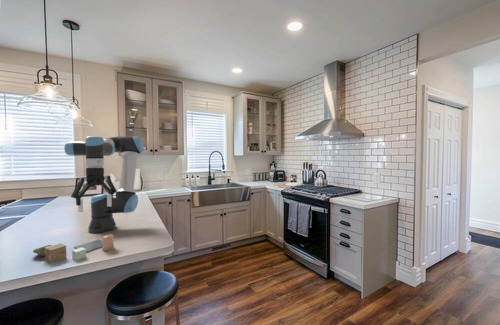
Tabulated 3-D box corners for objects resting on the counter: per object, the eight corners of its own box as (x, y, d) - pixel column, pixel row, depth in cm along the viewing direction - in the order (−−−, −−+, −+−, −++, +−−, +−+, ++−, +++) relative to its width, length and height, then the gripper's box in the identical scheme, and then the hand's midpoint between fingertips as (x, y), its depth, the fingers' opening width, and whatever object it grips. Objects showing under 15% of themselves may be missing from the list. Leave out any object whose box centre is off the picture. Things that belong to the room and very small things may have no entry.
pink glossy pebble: (100, 250, 115) (99, 236, 114) (110, 246, 119) (110, 233, 119) (105, 252, 112) (105, 238, 112) (115, 248, 117) (115, 235, 116)
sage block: (72, 258, 105) (72, 250, 105) (82, 255, 109) (81, 247, 109) (76, 260, 103) (76, 252, 103) (86, 257, 107) (85, 249, 107)
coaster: (74, 248, 117) (74, 246, 117) (98, 240, 127) (98, 239, 127) (85, 253, 111) (85, 251, 111) (110, 244, 122) (110, 243, 122)
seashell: (54, 244, 117) (60, 234, 113) (60, 256, 115) (66, 247, 111) (28, 253, 108) (34, 243, 104) (34, 266, 106) (40, 256, 102)
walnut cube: (44, 260, 104) (44, 247, 104) (60, 255, 109) (60, 243, 109) (50, 263, 101) (50, 250, 101) (66, 258, 106) (66, 245, 106)
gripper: (70, 168, 100) (71, 215, 100) (123, 166, 122) (123, 204, 123) (61, 168, 103) (62, 213, 104) (114, 166, 126) (115, 203, 126)
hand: (95, 209), depth 113 cm, fingers open, 13 cm apart
